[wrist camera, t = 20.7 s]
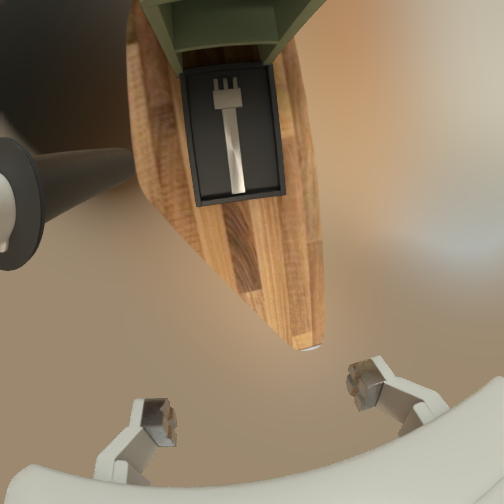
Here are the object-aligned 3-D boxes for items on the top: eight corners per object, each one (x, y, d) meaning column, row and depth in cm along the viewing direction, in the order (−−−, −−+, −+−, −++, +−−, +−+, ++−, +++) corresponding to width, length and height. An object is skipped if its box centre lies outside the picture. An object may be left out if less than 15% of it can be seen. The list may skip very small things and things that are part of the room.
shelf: (176, 77, 34) (138, 2, 11) (172, 16, 30) (146, -79, 7) (267, 68, 36) (332, -6, 13) (259, 9, 31) (305, -84, 8)
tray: (197, 204, 42) (196, 207, 40) (180, 73, 34) (179, 69, 32) (282, 192, 43) (286, 195, 41) (269, 65, 35) (272, 61, 33)
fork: (251, 190, 42) (252, 191, 41) (225, 194, 41) (225, 195, 40) (238, 77, 35) (238, 75, 34) (211, 80, 35) (211, 78, 33)
